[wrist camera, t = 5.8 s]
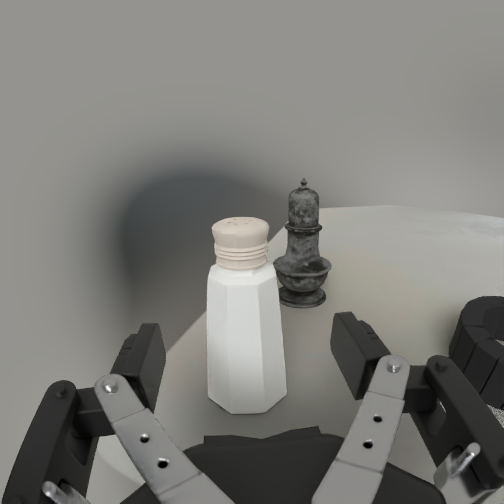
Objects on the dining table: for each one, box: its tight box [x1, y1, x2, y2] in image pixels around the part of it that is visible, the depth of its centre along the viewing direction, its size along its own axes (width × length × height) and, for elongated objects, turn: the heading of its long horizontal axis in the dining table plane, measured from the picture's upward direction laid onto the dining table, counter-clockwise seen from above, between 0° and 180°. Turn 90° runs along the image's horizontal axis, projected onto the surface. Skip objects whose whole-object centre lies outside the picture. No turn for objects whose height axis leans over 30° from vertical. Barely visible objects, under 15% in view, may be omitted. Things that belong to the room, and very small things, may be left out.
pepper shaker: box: [207, 217, 287, 414], centre depth 16 cm, size 5×5×11 cm
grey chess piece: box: [273, 178, 331, 308], centre depth 28 cm, size 6×6×12 cm
